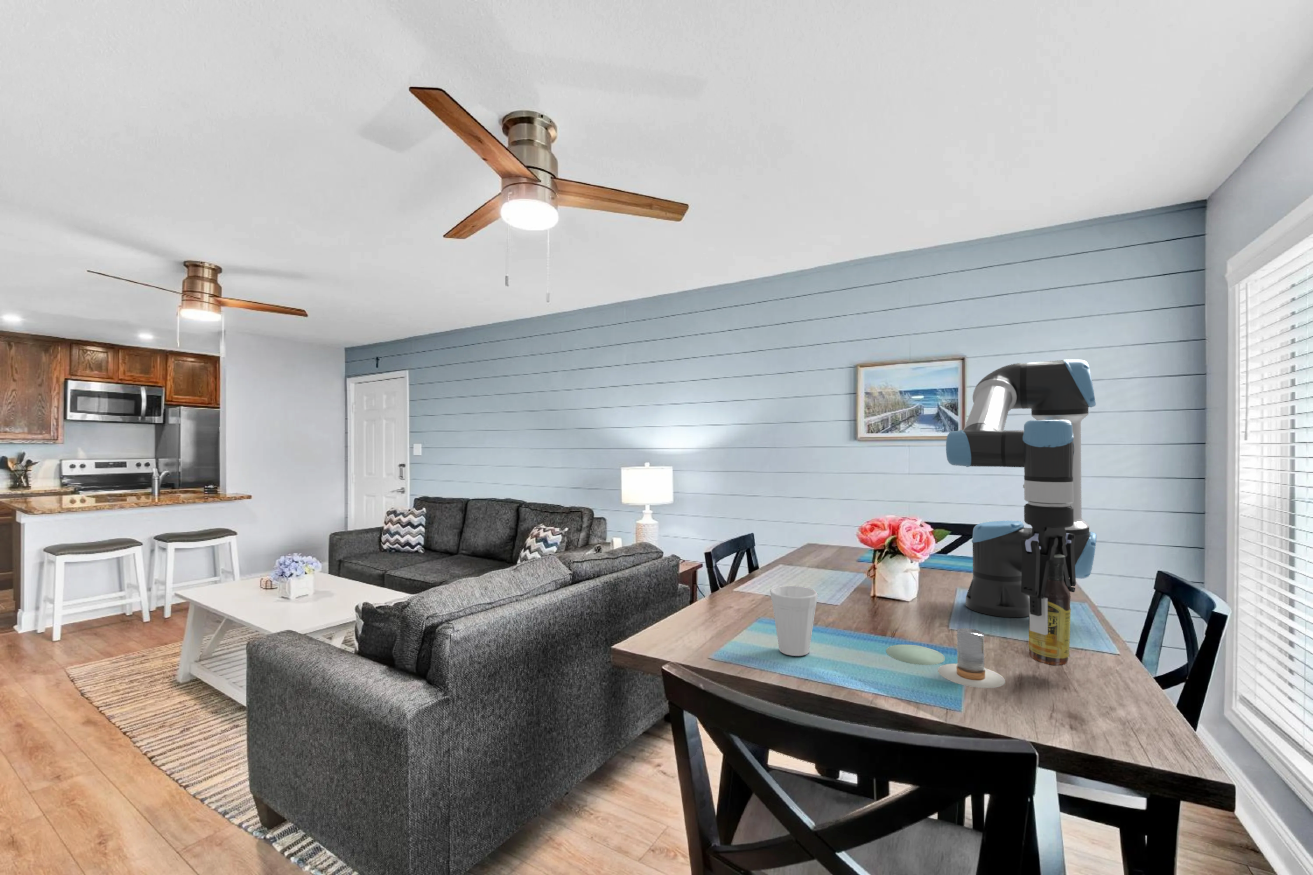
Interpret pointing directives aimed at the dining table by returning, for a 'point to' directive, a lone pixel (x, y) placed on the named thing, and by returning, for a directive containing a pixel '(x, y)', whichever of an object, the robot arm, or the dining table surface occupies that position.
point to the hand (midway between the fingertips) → (1049, 628)
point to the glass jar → (970, 654)
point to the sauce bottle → (1054, 619)
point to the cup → (794, 618)
